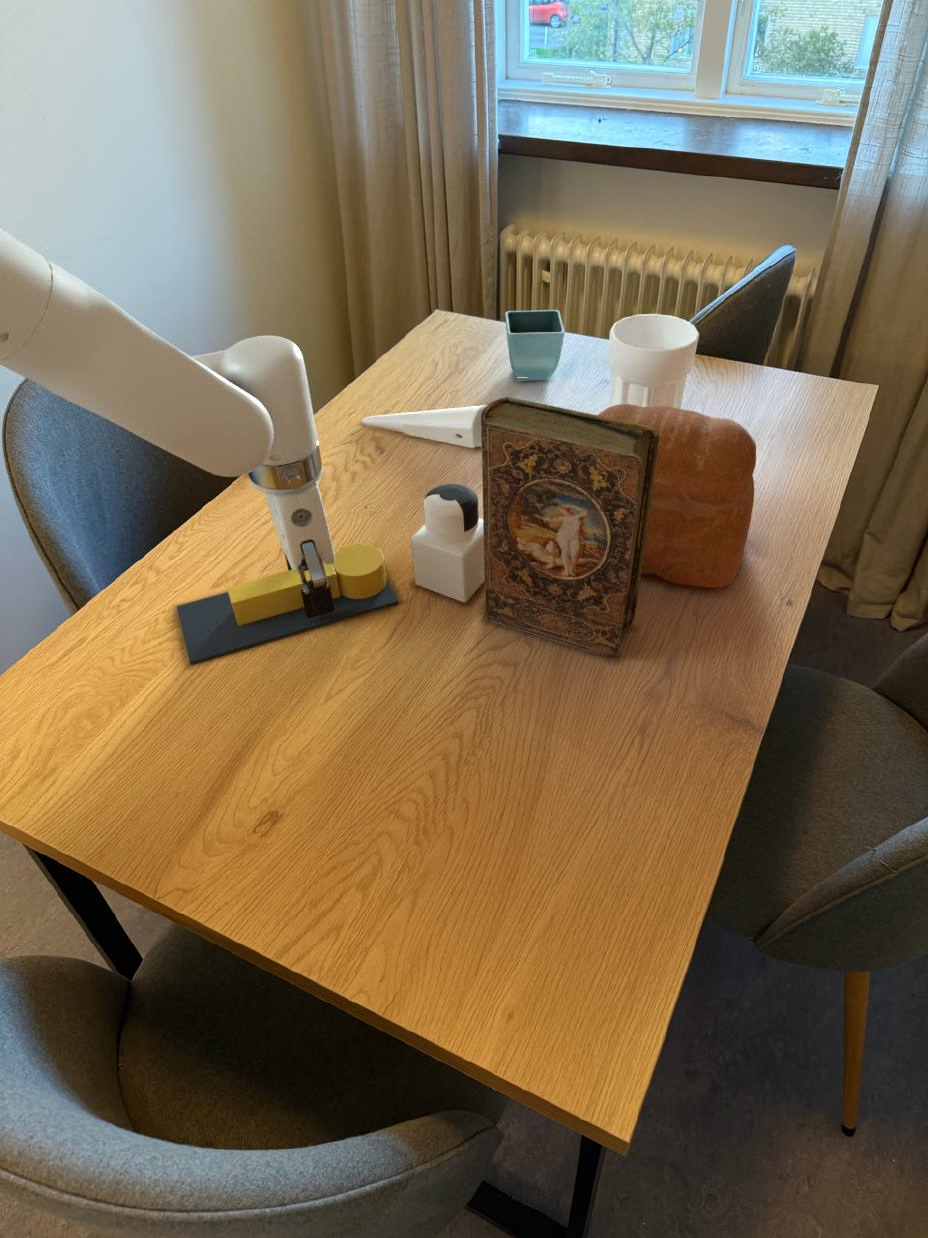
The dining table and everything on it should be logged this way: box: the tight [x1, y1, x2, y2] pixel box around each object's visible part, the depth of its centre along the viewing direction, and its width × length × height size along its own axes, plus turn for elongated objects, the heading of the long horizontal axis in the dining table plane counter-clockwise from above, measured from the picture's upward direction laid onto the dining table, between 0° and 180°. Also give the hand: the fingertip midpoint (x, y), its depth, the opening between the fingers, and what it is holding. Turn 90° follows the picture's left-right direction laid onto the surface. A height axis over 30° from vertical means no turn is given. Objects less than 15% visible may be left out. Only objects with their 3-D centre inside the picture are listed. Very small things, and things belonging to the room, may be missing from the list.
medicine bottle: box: [410, 482, 485, 603], centre depth 96 cm, size 7×7×12 cm
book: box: [481, 396, 659, 658], centre depth 85 cm, size 16×6×25 cm, turn 64°
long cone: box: [361, 404, 488, 449], centre depth 124 cm, size 6×6×19 cm
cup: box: [607, 313, 700, 409], centre depth 113 cm, size 11×11×17 cm
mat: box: [176, 578, 399, 665], centre depth 97 cm, size 24×10×1 cm, turn 112°
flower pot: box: [504, 309, 565, 382], centre depth 134 cm, size 9×9×9 cm
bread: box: [597, 404, 757, 589], centre depth 97 cm, size 18×21×17 cm
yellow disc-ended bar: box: [226, 543, 387, 626], centre depth 96 cm, size 18×6×4 cm, turn 112°
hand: (311, 591), depth 97 cm, fingers open, 7 cm apart
